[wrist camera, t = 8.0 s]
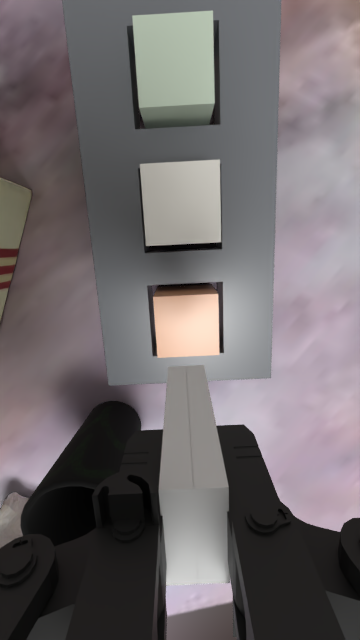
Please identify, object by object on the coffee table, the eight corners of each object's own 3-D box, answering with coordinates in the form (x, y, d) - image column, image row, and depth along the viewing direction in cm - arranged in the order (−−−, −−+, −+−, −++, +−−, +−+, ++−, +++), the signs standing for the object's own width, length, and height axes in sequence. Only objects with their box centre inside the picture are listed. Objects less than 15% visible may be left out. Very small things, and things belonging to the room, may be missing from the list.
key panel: (117, 366, 30) (108, 385, 27) (79, 24, 23) (59, -19, 19) (259, 360, 30) (270, 378, 26) (265, 13, 23) (282, -33, 19)
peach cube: (161, 337, 29) (157, 357, 24) (157, 286, 27) (153, 297, 23) (212, 335, 29) (219, 355, 24) (211, 284, 27) (218, 293, 23)
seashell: (0, 578, 38) (-61, 695, 28) (5, 478, 34) (-64, 573, 24) (84, 589, 38) (51, 708, 28) (97, 492, 34) (65, 591, 25)
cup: (103, 377, 31) (57, 461, 19) (165, 417, 32) (157, 519, 20) (64, 431, 32) (-1, 539, 21) (124, 468, 33) (95, 589, 22)
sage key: (147, 133, 24) (139, 107, 19) (142, 62, 23) (132, 15, 18) (207, 130, 24) (214, 103, 19) (205, 58, 23) (212, 10, 18)
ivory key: (152, 244, 24) (146, 246, 20) (148, 179, 23) (139, 163, 18) (213, 241, 24) (221, 242, 20) (211, 175, 23) (219, 159, 18)
